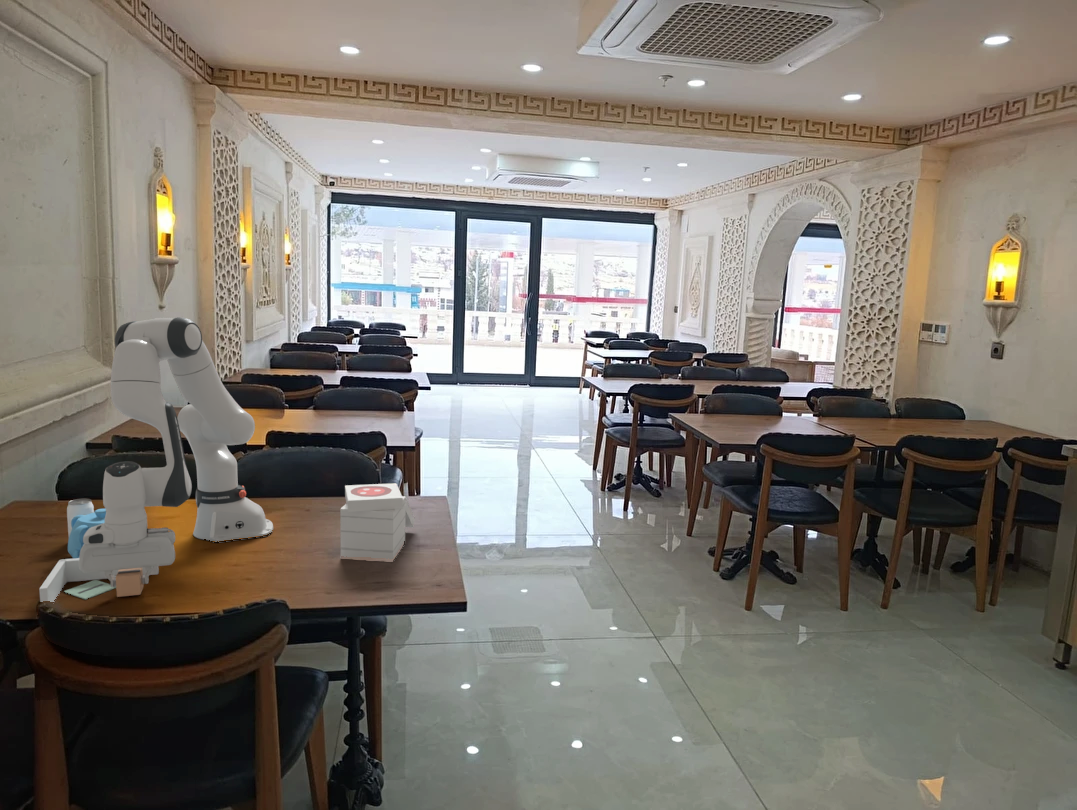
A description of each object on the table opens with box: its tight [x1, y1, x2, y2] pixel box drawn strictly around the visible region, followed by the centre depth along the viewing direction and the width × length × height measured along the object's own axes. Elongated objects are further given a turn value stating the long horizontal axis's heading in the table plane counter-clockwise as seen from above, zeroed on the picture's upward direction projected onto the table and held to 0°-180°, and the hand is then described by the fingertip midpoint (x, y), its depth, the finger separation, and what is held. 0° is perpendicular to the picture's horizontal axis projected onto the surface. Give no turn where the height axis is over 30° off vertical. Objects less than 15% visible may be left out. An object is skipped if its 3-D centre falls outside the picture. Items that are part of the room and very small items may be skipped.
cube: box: [115, 568, 144, 598], centre depth 180 cm, size 5×5×5 cm
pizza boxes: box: [339, 482, 416, 559], centre depth 218 cm, size 19×30×18 cm, turn 177°
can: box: [66, 498, 95, 537], centre depth 211 cm, size 6×6×12 cm
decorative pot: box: [67, 508, 106, 559], centre depth 200 cm, size 16×16×14 cm
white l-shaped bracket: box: [38, 557, 160, 603], centre depth 181 cm, size 22×18×6 cm
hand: (130, 584), depth 180 cm, fingers closed on cube, 5 cm apart
